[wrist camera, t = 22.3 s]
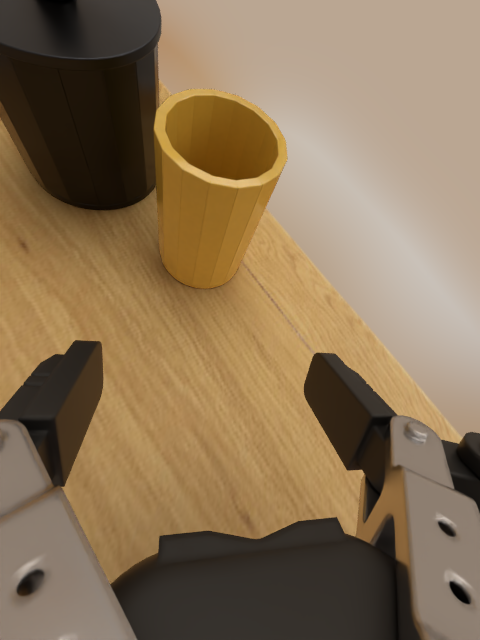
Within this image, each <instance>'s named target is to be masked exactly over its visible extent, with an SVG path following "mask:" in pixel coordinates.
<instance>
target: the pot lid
mask: <svg viewBox="0 0 480 640" xmlns="http://www.w3.org/2000/svg"><path fill="white" fill-rule="evenodd" d="M160 35H161V14H160V9H159V7H158V4H157V2H156V0H0V54H2V55H5V56H7V57H10V58H13V59H16V60H19V61H23V62H26V63H30V64H34V65H38V66H43V67H48V68H55V69H62V70H75V71H97V70H106V69H113V68H118V67H123V66H126V65H129V64H132V63H134V62H136V61H138V60H140V59H142V58H144V57H145V56H146V55H148V54H149V53H150V52H151V51H152V50H153V49H154V48H155V47H156V45H157V43H158V42H159V38H160Z"/></svg>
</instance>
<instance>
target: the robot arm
mask: <svg viewBox="0 0 480 640" xmlns="http://www.w3.org/2000/svg"><path fill="white" fill-rule="evenodd" d="M102 389H103V359H102V345H101V342H100V341H80V340H75V341H74V342H73V344H72V345H71V346H70V348H69V349H68V350H67V352H66V353H65V354H64V355H60V354H55V355H53V356H52V357H50V358H48V359H47V360H45V361H43V362H41V363H40V364H39V365H38V367H37V368H36V369H35V370H34V371H33V373H32V374H31V376H29V377H28V379H27V380H26V381H25V382H24V385H23V386H21V387H20V388H19V389H18V391H17V392H16V393H15V394H14V395H13V396H12V398H11V399H10V400H9V401H8V402H7V404H6V405H5V406H4V407H3V408H2V410H1V411H0V640H480V434H479V433H473V432H470V433H467V434H465V436H464V437H463V439H462V440H461V442H460V443H459V444H457V443H453V442H449V441H445V440H440V438H439V437H438V435H437V434H436V433H435V432H434V431H433V430H432V429H431V428H429V427H428V426H426V425H425V424H423V423H422V422H420V421H418V420H416V419H413V418H411V417H407V416H398V415H397V414H396V413H395V412H394V411H393V410H392V409H391V408H390V407H389V406H388V405H387V404H386V403H385V401H384V400H383V399H382V398H381V397H380V396H379V395H378V394H377V393H376V392H375V391H373V389H372V388H371V387H370V386H369V385H368V384H366V381H365V380H364V379H363V378H362V377H361V376H360V375H359V374H358V373H356V372H355V371H353V370H352V369H350V368H349V367H347V366H346V365H345V364H344V362H343V361H342V360H341V359H340V358H339V357H338V356H337V355H336V354H333V353H316V354H314V356H313V358H312V361H311V364H310V368H309V371H308V374H307V377H306V380H305V384H304V395H305V398H306V400H307V402H308V404H309V406H310V407H311V409H312V411H313V412H314V414H315V416H316V418H317V419H318V421H319V423H320V424H321V426H322V428H323V430H324V431H325V433H326V435H327V436H328V438H329V440H330V442H331V443H332V445H333V447H334V448H335V450H336V452H337V454H338V455H339V457H340V459H341V460H342V462H343V464H344V466H345V467H346V469H347V470H363V472H364V473H365V474H364V476H363V478H362V480H361V488H360V499H359V510H358V521H357V531H356V536H355V537H354V536H351V535H348V534H344V531H343V529H342V527H341V525H340V523H339V521H338V519H337V517H335V518H325V519H316V520H306V521H298V522H296V523H294V524H291V525H289V526H287V527H285V528H283V529H281V530H279V531H276V532H274V533H272V534H270V535H268V536H266V537H264V538H261V539H250V538H244V537H239V536H234V535H228V534H223V533H218V532H212V531H201V532H192V533H182V534H173V535H163V536H160V538H159V551H158V553H157V554H155V555H152V556H150V557H148V558H146V559H144V560H142V561H141V562H139V563H137V564H135V565H134V566H132V567H131V568H130V569H128V570H127V571H126V572H124V573H123V574H122V575H120V576H119V577H118V578H117V579H116V580H115V581H114V582H113V583H112V584H111V585H110V583H109V581H108V579H107V577H106V575H105V573H104V571H103V569H102V567H101V565H100V563H99V561H98V559H97V557H96V555H95V553H94V551H93V549H92V547H91V545H90V543H89V541H88V539H87V537H86V535H85V533H84V531H83V529H82V527H81V525H80V523H79V521H78V519H77V517H76V515H75V513H74V511H73V509H72V507H71V505H70V503H69V501H68V499H67V497H66V495H65V493H64V491H63V490H62V488H61V487H64V486H65V483H66V481H67V478H68V476H69V473H70V471H71V468H72V466H73V464H74V461H75V459H76V456H77V454H78V451H79V449H80V446H81V444H82V441H83V439H84V437H85V434H86V432H87V429H88V427H89V424H90V422H91V419H92V417H93V414H94V412H95V410H96V407H97V405H98V402H99V400H100V397H101V394H102Z"/></svg>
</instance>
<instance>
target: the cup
mask: <svg viewBox="0 0 480 640" xmlns="http://www.w3.org/2000/svg"><path fill="white" fill-rule="evenodd" d="M153 130H154V150H155V171H156V191H157V212H158V233H159V251H160V255H161V259H162V262H163V265H164V267H165V268H166V270H167V271H168V272H169V273H170V274H171V275H172V276H173V277H174V278H175V279H176V280H178V281H179V282H181V283H183V284H185V285H188V286H191V287H194V288H202V289H207V288H214V287H218V286H221V285H223V284H225V283H226V282H228V281H229V280H230V279H231V278H232V277H233V276H234V275H235V273H236V272H237V270H238V268H239V265H240V263H241V261H242V259H243V257H244V255H245V252H246V250H247V248H248V246H249V244H250V241H251V239H252V237H253V235H254V232H255V230H256V228H257V226H258V224H259V221H260V219H261V217H262V215H263V213H264V210H265V208H266V206H267V204H268V202H269V199H270V197H271V195H272V193H273V190H274V188H275V186H276V184H277V182H278V179H279V177H280V175H281V173H282V171H283V168H284V166H285V164H286V162H287V148H286V141H285V138H284V137H283V135H282V133H281V131H280V130H279V128H278V126H277V124H276V123H275V122H274V121H273V120H272V119H271V118H270V117H269V116H268V115H267V114H266V113H264V112H263V111H262V110H261V109H260V108H258V107H257V106H256V105H254V104H252V103H250V102H248V101H247V100H245V99H243V98H241V97H239V96H236V95H234V94H230V93H226V92H222V91H218V90H215V89H190V90H189V89H188V90H185V91H182V92H179V93H176V94H173V95H170V96H169V97H168V98H167V99H166V100H165V101H164V102H163V103H162V104H161V105H160V106H159V107H158V109H157V110H156V115H155V121H154V128H153Z"/></svg>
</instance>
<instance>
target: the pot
mask: <svg viewBox="0 0 480 640" xmlns="http://www.w3.org/2000/svg"><path fill="white" fill-rule="evenodd" d="M158 107H159V78H158V43H157V45H156V47H155V48H154V49H153V50H152V51H151V52H150V53H149V54H148V55H146V56H145V57H144V58H142V59H140V60H138V61H136V62H134V63H132V64H129V65H126V66H123V67H118V68H113V69H106V70H97V71H75V70H62V69H55V68H48V67H43V66H38V65H34V64H30V63H26V62H23V61H19V60H16V59H13V58H10V57H7V56H5V55H2V54H0V118H1V120H2V121H3V123H4V125H5V127H6V129H7V131H8V132H9V134H10V136H11V138H12V140H13V142H14V143H15V145H16V147H17V149H18V151H19V153H20V154H21V156H22V158H23V160H24V162H25V164H26V165H27V167H28V169H29V171H30V173H31V174H32V175H33V176H34V177H35V179H36V181H37V182H38V183H39V184H40V185H41V187H43V188H44V189H45V190H46V191H47V192H48V193H50V194H51V195H52V196H54V197H55V198H57V199H59V200H61V201H63V202H65V203H68V204H70V205H73V206H77V207H81V208H86V209H93V210H111V209H118V208H123V207H127V206H130V205H132V204H135V203H137V202H139V201H140V200H142V199H144V198H145V197H146V196H147V195H149V194H150V192H151V191H152V190H153V189H154V187H155V186H156V171H155V150H154V130H153V128H154V121H155V115H156V110H157V109H158Z"/></svg>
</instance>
